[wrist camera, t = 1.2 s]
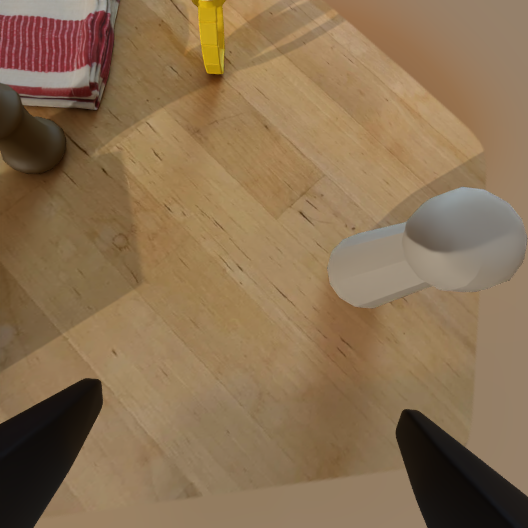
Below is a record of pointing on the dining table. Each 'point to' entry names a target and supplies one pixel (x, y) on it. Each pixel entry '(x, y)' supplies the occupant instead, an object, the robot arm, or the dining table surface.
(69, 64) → the dish towel
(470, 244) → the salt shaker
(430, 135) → the dining table surface
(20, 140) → the kendama
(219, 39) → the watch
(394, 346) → the dining table surface
